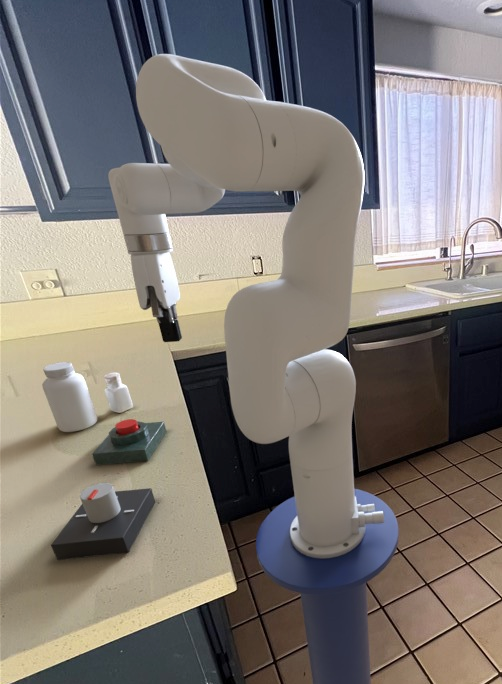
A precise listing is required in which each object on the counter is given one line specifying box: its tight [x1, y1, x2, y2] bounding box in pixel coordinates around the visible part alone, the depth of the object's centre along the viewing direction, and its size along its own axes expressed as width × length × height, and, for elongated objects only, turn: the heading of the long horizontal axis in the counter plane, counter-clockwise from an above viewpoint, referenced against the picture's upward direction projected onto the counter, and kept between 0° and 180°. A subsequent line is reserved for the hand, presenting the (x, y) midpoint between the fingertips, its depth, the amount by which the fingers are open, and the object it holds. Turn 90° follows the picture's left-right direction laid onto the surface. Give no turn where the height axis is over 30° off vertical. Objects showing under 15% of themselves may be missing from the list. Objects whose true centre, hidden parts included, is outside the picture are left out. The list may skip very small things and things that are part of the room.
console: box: [91, 420, 167, 466], centre depth 91 cm, size 10×12×4 cm
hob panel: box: [50, 487, 156, 561], centre depth 69 cm, size 10×12×3 cm
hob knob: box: [79, 482, 121, 523], centre depth 67 cm, size 4×4×5 cm
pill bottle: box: [42, 361, 98, 433], centre depth 98 cm, size 8×8×15 cm
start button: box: [114, 418, 139, 435], centre depth 90 cm, size 4×4×2 cm
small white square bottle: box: [103, 372, 134, 414], centre depth 106 cm, size 4×4×10 cm
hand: (172, 340), depth 86 cm, fingers closed
